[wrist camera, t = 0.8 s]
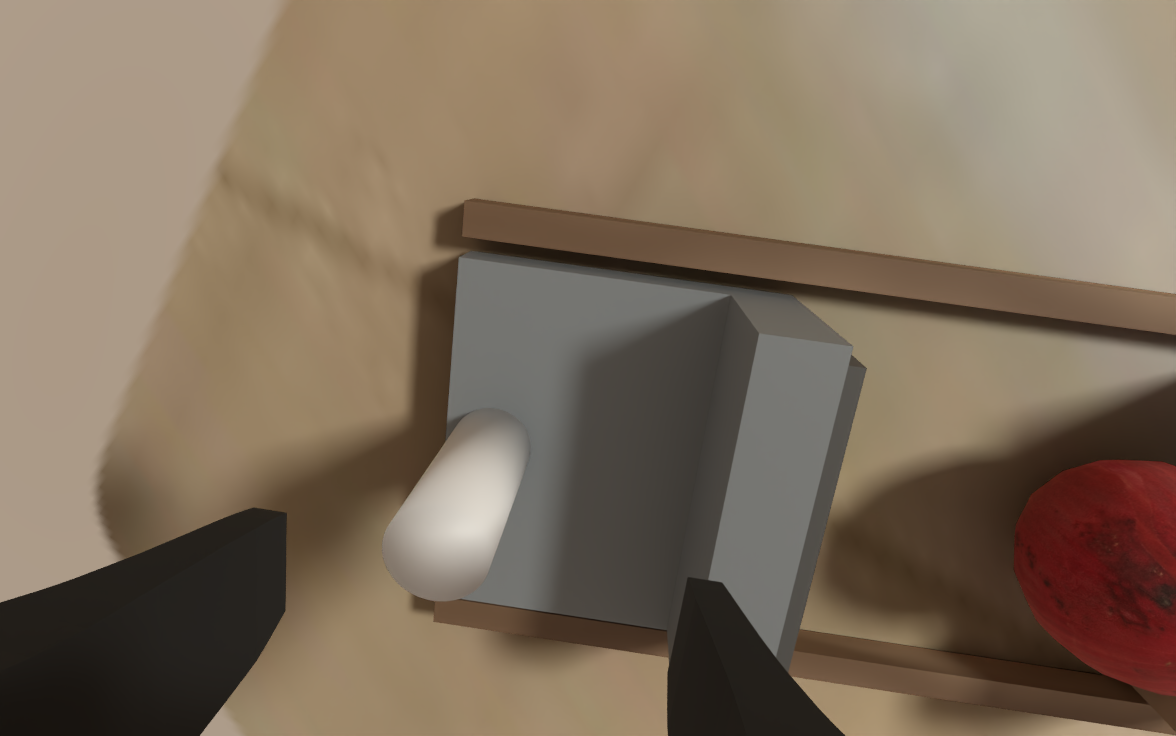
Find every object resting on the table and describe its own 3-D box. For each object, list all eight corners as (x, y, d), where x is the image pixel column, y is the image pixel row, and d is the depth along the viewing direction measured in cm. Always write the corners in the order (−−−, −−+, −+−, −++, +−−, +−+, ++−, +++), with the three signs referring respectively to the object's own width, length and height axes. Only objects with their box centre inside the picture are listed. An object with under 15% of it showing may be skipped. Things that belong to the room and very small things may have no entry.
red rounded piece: (926, 507, 22) (1078, 687, 15) (1075, 382, 21) (1331, 508, 13) (1044, 614, 23) (1248, 837, 15) (1196, 501, 22) (1504, 685, 14)
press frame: (1183, 712, 24) (1397, 927, 17) (442, 599, 24) (370, 764, 18) (1367, 320, 20) (1743, 400, 13) (474, 198, 20) (395, 215, 14)
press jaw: (737, 612, 24) (782, 809, 16) (446, 568, 24) (364, 743, 17) (808, 297, 20) (903, 370, 13) (471, 250, 21) (383, 297, 13)
